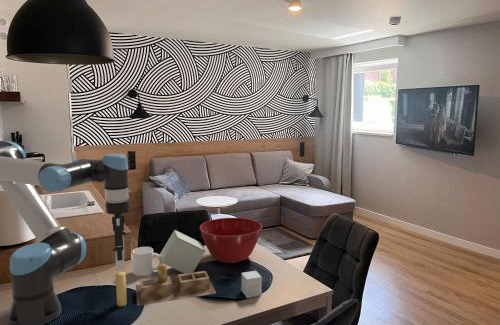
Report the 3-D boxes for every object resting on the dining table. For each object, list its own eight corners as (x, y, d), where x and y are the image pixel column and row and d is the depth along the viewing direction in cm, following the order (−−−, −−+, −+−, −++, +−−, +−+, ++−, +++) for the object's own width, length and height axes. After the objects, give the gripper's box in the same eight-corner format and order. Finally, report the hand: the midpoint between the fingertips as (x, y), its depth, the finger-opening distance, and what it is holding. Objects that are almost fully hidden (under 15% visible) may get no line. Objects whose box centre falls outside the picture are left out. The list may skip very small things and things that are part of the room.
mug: (164, 269, 160) (163, 246, 158) (160, 278, 151) (160, 253, 150) (136, 269, 159) (135, 246, 157) (131, 278, 151) (130, 254, 149)
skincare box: (241, 290, 141) (241, 272, 140) (256, 288, 143) (256, 270, 142) (246, 298, 135) (246, 279, 134) (262, 295, 138) (262, 276, 137)
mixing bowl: (192, 251, 179) (192, 220, 177) (246, 243, 191) (246, 214, 189) (211, 275, 154) (211, 239, 152) (272, 263, 166) (272, 230, 164)
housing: (161, 263, 149) (176, 237, 149) (159, 254, 158) (174, 229, 158) (190, 276, 153) (205, 250, 154) (187, 266, 162) (201, 243, 163)
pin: (117, 309, 127) (115, 276, 126) (117, 305, 130) (115, 272, 129) (126, 308, 128) (125, 275, 127) (126, 303, 131) (125, 271, 130)
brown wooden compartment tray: (137, 308, 128) (136, 278, 126) (135, 287, 143) (134, 260, 141) (216, 295, 137) (216, 267, 135) (207, 277, 152) (206, 251, 150)
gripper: (129, 208, 113) (133, 274, 116) (128, 191, 137) (131, 247, 140) (103, 210, 111) (107, 277, 114) (106, 193, 134) (109, 249, 137)
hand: (120, 261), depth 127 cm, fingers open, 13 cm apart
